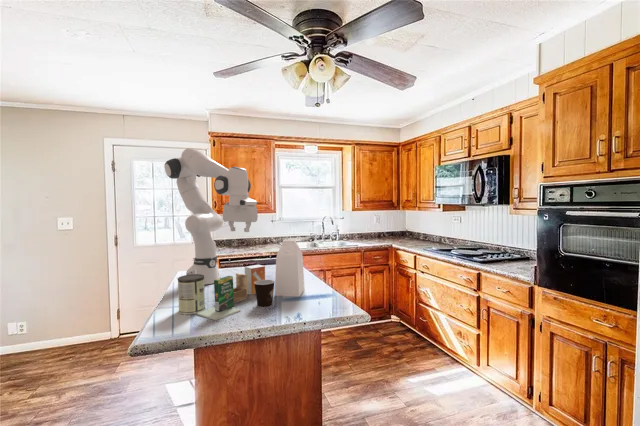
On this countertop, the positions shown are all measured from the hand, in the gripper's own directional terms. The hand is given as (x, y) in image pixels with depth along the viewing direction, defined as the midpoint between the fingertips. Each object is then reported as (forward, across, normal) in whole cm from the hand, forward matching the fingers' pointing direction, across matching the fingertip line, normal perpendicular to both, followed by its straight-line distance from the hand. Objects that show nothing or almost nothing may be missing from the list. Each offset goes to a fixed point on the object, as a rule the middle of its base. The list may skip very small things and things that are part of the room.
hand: (239, 231), depth 147 cm
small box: (+31, -1, +10) cm, 33 cm away
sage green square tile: (+31, +8, -19) cm, 37 cm away
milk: (+31, +14, +19) cm, 39 cm away
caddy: (+31, 0, -5) cm, 31 cm away
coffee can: (+31, -4, -23) cm, 39 cm away
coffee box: (+31, +8, -16) cm, 35 cm away
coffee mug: (+31, +17, 0) cm, 36 cm away
